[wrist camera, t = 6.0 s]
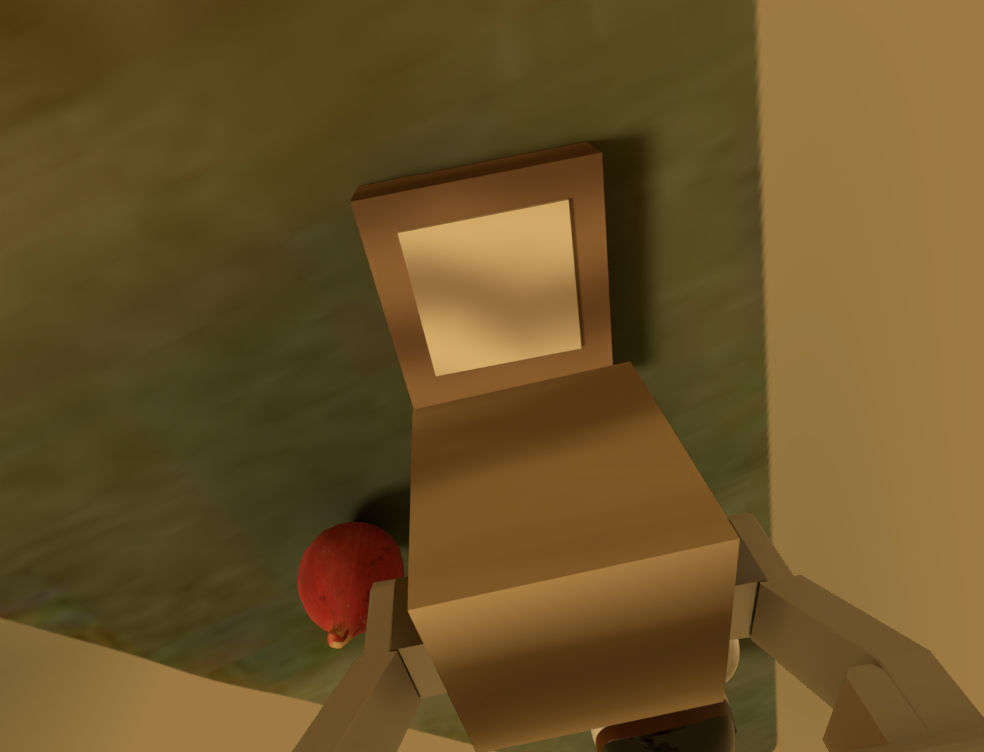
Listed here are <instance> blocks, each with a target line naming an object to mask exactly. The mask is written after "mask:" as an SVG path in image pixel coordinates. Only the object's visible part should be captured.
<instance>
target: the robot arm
mask: <svg viewBox="0 0 984 752" xmlns="http://www.w3.org/2000/svg"><path fill="white" fill-rule="evenodd" d="M727 519H728V520H729V522H730V523H731V525H732V527H733V528H734V530H735V532H736V533H737V535H738V536H739V538H740V542H739V552H738V562H737V572H736V582H735V592H734V602H733V612H732V622H731V632H730V640H735V639H742V638H748V637H751V640H752V641H753V642H754V643H755V644H757V645H758V646H759V647H760V648H761V649H763V650H764V651H765V652H766V653H767V654H769V655H770V656H771V657H772V658H773V659H775V660H776V661H777V662H778V663H779V664H781V665H782V666H783V667H784V668H785V669H786V670H788V671H789V672H790V673H791V674H792V675H794V676H795V677H796V678H797V679H799V680H800V681H801V682H802V683H803V684H804V685H806V686H807V687H808V688H809V689H810V690H812V691H813V692H814V693H815V694H816V695H817V696H819V697H820V698H821V699H822V700H823V701H825V702H826V703H827V704H828V705H830V706H831V707H832V708H833V712H832V715H831V718H830V720H829V723H828V726H827V729H826V731H825V734H824V737H823V741H824V743H825V745H826V747H827V749H828V751H829V752H984V717H983V716H982V715H981V714H980V712H979V711H978V710H977V709H976V707H975V706H974V705H973V704H972V702H971V701H970V700H969V699H968V697H967V696H966V695H965V694H964V693H963V691H962V690H961V689H960V687H959V686H958V685H957V684H956V683H955V681H954V680H953V679H952V678H951V676H950V675H949V674H948V673H947V671H946V670H945V669H944V668H943V666H942V665H941V664H940V663H939V661H938V660H937V659H936V658H935V657H934V655H933V654H932V653H931V652H930V651H929V650H928V649H926V648H924V647H922V646H921V645H919V644H917V643H916V642H914V641H912V640H911V639H909V638H907V637H905V636H904V635H902V634H900V633H899V632H897V631H895V630H894V629H892V628H890V627H889V626H887V625H885V624H884V623H882V622H880V621H878V620H877V619H875V618H873V617H872V616H870V615H868V614H866V613H865V612H863V611H862V610H860V609H858V608H856V607H855V606H853V605H851V604H850V603H848V602H846V601H845V600H843V599H841V598H839V597H838V596H836V595H834V594H833V593H831V592H829V591H828V590H826V589H824V588H823V587H821V586H819V585H818V584H816V583H814V582H812V581H811V580H809V579H807V578H806V577H804V576H802V575H799V576H794V575H793V573H792V572H791V571H790V569H789V568H788V566H787V565H786V563H785V562H784V560H783V559H782V557H781V556H780V554H779V553H778V551H777V550H776V548H775V547H774V545H773V544H772V542H771V541H770V539H769V538H768V536H767V535H766V534H765V532H764V531H763V529H762V528H761V526H760V525H759V523H758V522H757V520H756V519H755V517H754V516H753V515H752V514H750V513H742V514H737V515H732V516H727ZM443 693H447V691H446V689H445V687H444V685H443V683H442V681H441V679H440V677H439V675H438V673H437V670H436V668H435V666H434V664H433V662H432V660H431V658H430V656H429V654H428V652H427V650H426V648H425V646H424V644H423V641H422V639H421V637H420V635H419V633H418V631H417V629H416V627H415V625H414V623H413V621H412V619H411V617H410V615H409V612H408V577H403V578H397V579H391V580H386V581H380V582H375V583H373V586H372V588H371V591H370V600H369V609H368V618H367V627H366V635H365V644H364V653H363V657H359V658H356V659H355V661H354V662H353V664H352V665H351V667H350V668H349V670H348V671H347V672H346V674H345V675H344V677H343V678H342V680H341V681H340V683H339V684H338V686H337V687H336V688H335V690H334V691H333V693H332V694H331V696H330V697H329V699H328V700H327V702H326V703H325V704H324V706H323V707H322V709H321V710H320V712H319V713H318V715H317V716H316V718H315V719H314V720H313V722H312V723H311V725H310V726H309V728H308V729H307V731H306V732H305V734H304V735H303V737H302V738H301V739H300V741H299V742H298V744H297V745H296V747H295V748H294V750H293V751H292V752H397V750H398V748H399V746H400V744H401V742H402V740H403V738H404V736H405V733H406V731H407V729H408V727H409V725H410V723H411V721H412V719H413V717H414V714H415V712H416V710H417V708H418V706H419V704H420V702H421V701H420V698H425V697H429V696H434V695H439V694H443Z"/></svg>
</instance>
